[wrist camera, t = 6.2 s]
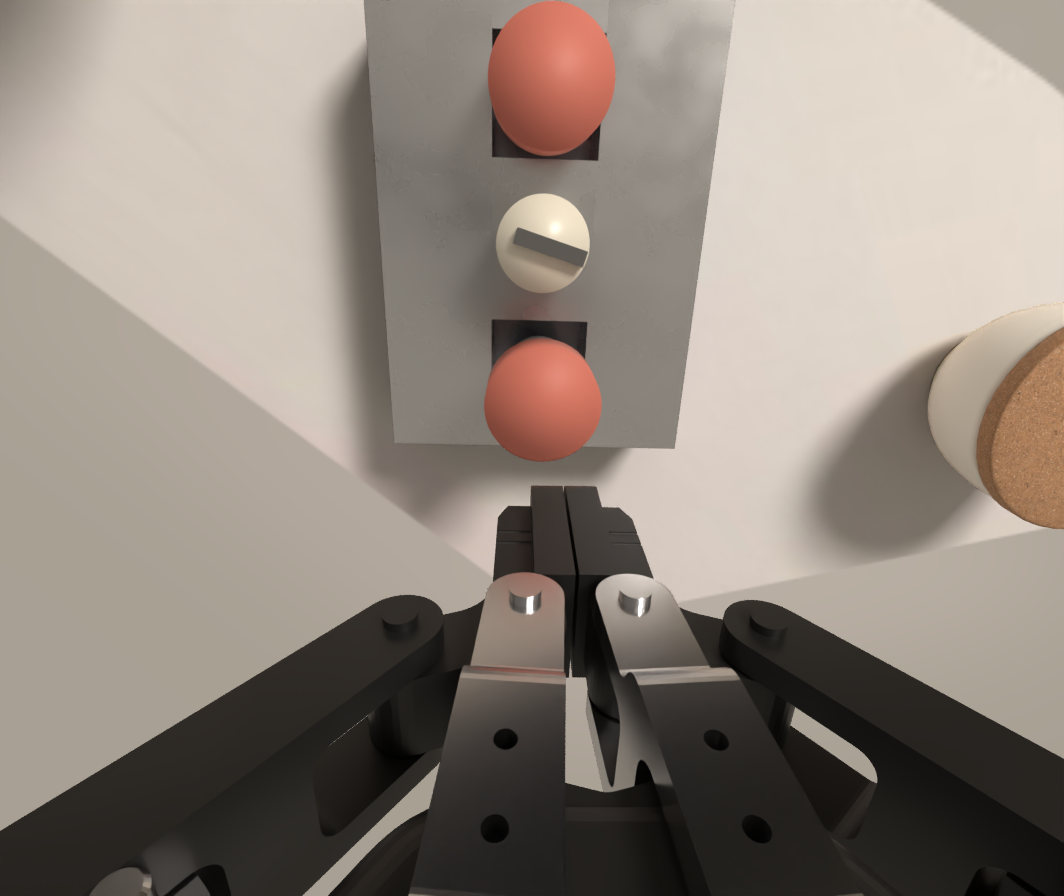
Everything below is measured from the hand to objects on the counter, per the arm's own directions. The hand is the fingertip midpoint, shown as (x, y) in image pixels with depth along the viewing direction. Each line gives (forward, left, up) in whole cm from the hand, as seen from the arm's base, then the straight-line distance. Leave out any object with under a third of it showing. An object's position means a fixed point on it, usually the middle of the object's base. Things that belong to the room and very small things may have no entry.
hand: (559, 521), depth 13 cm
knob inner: (0, +11, -17) cm, 21 cm away
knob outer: (0, 0, -15) cm, 15 cm away
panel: (0, +5, -20) cm, 20 cm away
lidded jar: (+26, -2, -20) cm, 33 cm away
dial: (0, +5, -15) cm, 16 cm away
